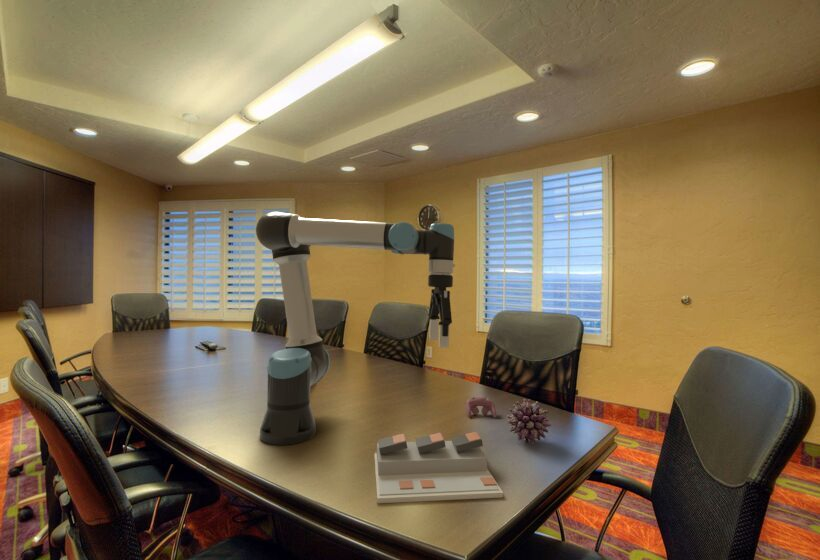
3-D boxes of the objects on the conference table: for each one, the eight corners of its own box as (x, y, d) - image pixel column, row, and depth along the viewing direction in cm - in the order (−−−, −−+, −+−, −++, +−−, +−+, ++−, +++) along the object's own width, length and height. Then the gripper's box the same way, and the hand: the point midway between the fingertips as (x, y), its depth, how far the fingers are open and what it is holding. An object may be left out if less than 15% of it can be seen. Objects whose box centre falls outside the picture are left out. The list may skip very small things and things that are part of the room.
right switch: (457, 452, 91) (455, 445, 91) (452, 443, 96) (451, 437, 96) (482, 446, 92) (481, 438, 92) (477, 437, 96) (475, 430, 96)
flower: (546, 455, 100) (547, 409, 100) (501, 444, 106) (502, 401, 106) (554, 439, 110) (554, 397, 110) (511, 430, 116) (512, 391, 116)
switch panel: (377, 503, 77) (377, 483, 77) (374, 457, 97) (374, 441, 97) (502, 497, 80) (503, 478, 80) (475, 453, 100) (475, 438, 100)
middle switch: (419, 453, 90) (417, 446, 90) (416, 444, 94) (415, 438, 94) (445, 447, 90) (444, 440, 90) (441, 438, 95) (440, 431, 95)
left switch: (380, 455, 89) (378, 447, 89) (379, 445, 93) (378, 439, 93) (407, 448, 89) (406, 441, 89) (405, 439, 94) (404, 432, 94)
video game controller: (494, 419, 130) (492, 397, 133) (497, 417, 126) (495, 395, 129) (465, 419, 129) (463, 397, 132) (467, 417, 125) (466, 395, 128)
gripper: (464, 274, 107) (461, 351, 107) (442, 274, 132) (440, 337, 132) (438, 273, 106) (435, 350, 106) (421, 274, 130) (419, 336, 130)
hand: (438, 343), depth 119 cm, fingers open, 13 cm apart
